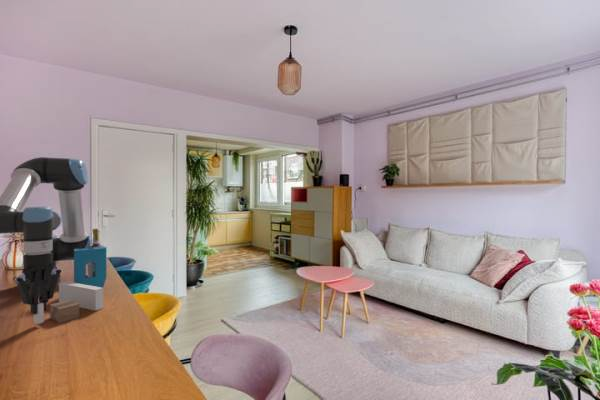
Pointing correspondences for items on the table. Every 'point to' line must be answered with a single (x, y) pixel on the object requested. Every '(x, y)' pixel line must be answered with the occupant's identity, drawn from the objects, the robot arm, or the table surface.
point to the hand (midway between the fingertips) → (38, 322)
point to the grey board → (82, 295)
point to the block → (83, 259)
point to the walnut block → (64, 311)
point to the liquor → (95, 244)
